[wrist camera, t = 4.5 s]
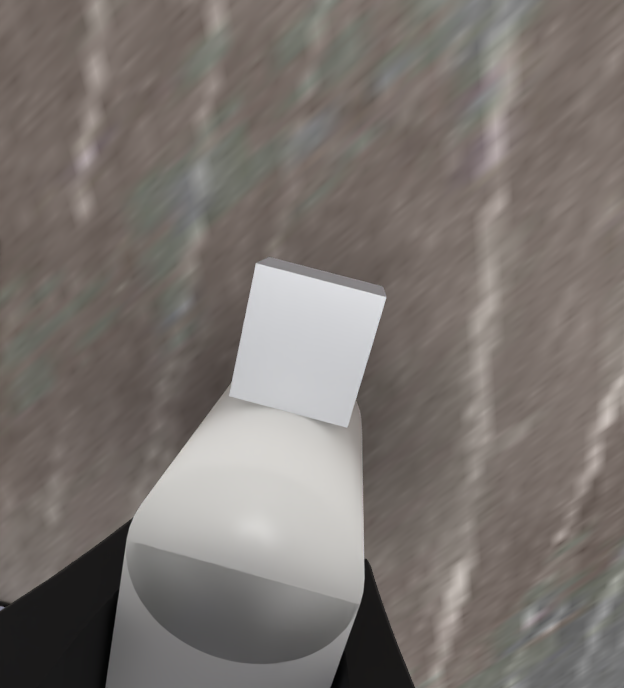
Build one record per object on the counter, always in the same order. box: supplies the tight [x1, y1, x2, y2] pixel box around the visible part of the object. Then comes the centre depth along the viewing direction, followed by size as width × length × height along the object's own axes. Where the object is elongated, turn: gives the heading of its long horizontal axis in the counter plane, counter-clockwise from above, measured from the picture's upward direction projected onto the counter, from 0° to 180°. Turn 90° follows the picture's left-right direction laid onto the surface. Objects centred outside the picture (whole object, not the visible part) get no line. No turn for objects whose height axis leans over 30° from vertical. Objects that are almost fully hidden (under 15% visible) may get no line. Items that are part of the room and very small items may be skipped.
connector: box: [105, 257, 386, 688], centre depth 8 cm, size 10×3×4 cm, turn 166°
